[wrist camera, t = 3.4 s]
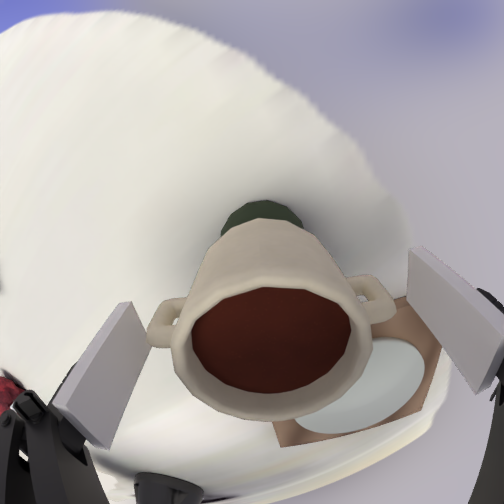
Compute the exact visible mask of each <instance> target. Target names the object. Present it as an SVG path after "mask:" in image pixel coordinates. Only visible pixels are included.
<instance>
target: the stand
mask: <svg viewBox="0 0 504 504" xmlns="http://www.w3.org/2000/svg"><path fill="white" fill-rule="evenodd" d="M394 303H395V305H396V310H397V312H396V314H395V315H394V316H393V317H392V318H391V319H389V320H387V321H385V322H380V323H376V324H371V334H372V338H378V337H395V338H400V339H404V340H406V341H408V342H410V343H411V344H413V345H414V346H415V347H416V348H417V350H418V351H419V353H420V354H421V356H422V358H423V360H424V365H425V368H424V375H423V378H422V381H421V383H420V385H419V387H418V389H417V390H416V392H415V393H414V394H413V396H412V397H411V398H410V399H409V400H408V401H407V402H406V403H405V404H404V405H403V406H402V407H401V408H400V409H398V410H397V411H396V412H395V413H393V414H392V415H390V416H389V417H387V418H385V419H383V420H382V421H380V422H378V423H376V424H373V425H371V426H368V427H366V428H363V429H360V430H356V431H352V432H346V433H338V434H325V433H318V432H314V431H310V430H308V429H306V428H304V427H302V426H301V425H299V424H298V423H297V422H296V420H295V419H290V420H285V421H272V423H273V426H274V429H275V432H276V435H277V438H278V441H279V444H280V447H289V446H295V445H301V444H307V443H313V442H318V441H323V440H327V439H332V438H336V437H341V436H345V435H349V434H352V433H356V432H360V431H363V430H367V429H370V428H373V427H377V426H380V425H383V424H386V423H389V422H392V421H395V420H397V419H400V418H403V417H406V416H408V415H411V414H413V413H416V412H418V411H421V409H422V406H423V404H424V401H425V398H426V396H427V393H428V390H429V387H430V385H431V382H432V379H433V376H434V372H435V369H436V366H437V363H438V359H439V356H440V352H441V349H442V345H441V344H440V343H439V341H438V340H437V339H436V337H435V336H434V335H433V333H432V332H431V331H430V329H429V328H428V327H427V325H426V324H425V323H424V321H423V320H422V319H421V318H420V316H419V315H418V314H417V313H416V311H415V310H414V309H413V307H412V306H411V305H410V304H409V303H408V301H407V300H406V296H405V297H402V298H398V299H395V300H394Z"/></svg>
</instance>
